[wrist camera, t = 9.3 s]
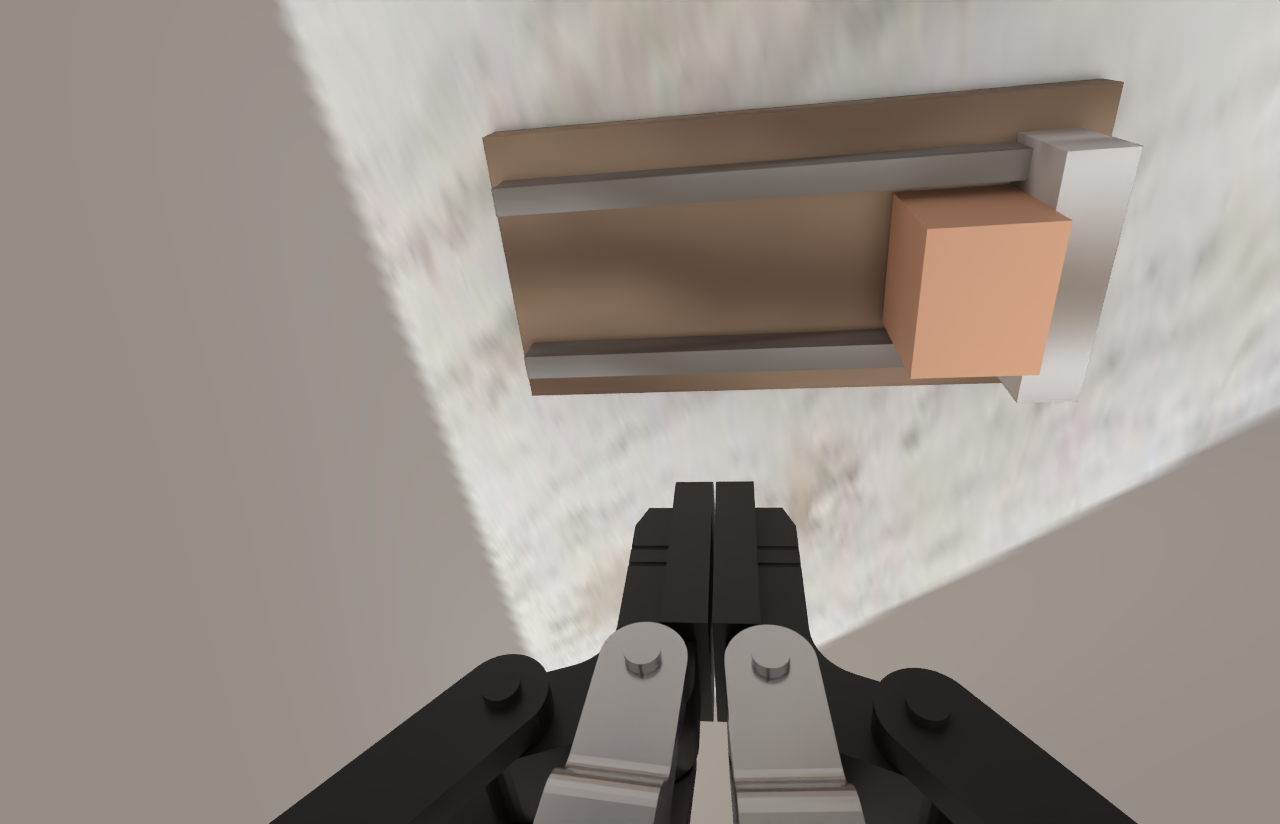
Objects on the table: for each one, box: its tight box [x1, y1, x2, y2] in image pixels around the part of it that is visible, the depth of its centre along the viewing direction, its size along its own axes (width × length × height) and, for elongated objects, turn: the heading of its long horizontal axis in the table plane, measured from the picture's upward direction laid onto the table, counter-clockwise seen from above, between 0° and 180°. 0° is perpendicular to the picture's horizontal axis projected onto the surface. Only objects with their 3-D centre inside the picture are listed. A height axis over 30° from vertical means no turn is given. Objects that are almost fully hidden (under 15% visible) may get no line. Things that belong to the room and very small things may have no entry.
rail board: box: [482, 79, 1143, 403], centre depth 25 cm, size 11×22×6 cm, turn 96°
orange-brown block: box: [882, 185, 1073, 379], centre depth 23 cm, size 5×4×5 cm
